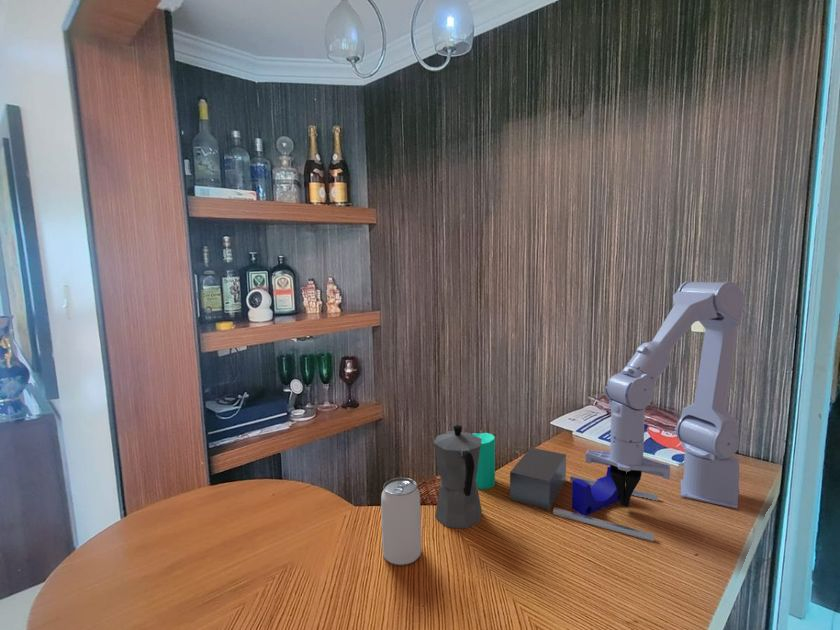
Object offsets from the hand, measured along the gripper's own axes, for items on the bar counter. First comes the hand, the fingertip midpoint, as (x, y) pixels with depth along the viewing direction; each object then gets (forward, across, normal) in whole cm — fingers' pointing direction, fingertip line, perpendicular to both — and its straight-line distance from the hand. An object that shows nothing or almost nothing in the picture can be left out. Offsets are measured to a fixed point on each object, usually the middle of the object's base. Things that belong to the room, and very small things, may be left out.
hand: (625, 504), depth 83 cm
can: (+1, -30, -32) cm, 44 cm away
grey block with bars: (+1, -9, 0) cm, 9 cm away
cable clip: (+2, -6, +1) cm, 6 cm away
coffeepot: (+2, -27, -18) cm, 32 cm away
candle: (+2, -29, -3) cm, 29 cm away
